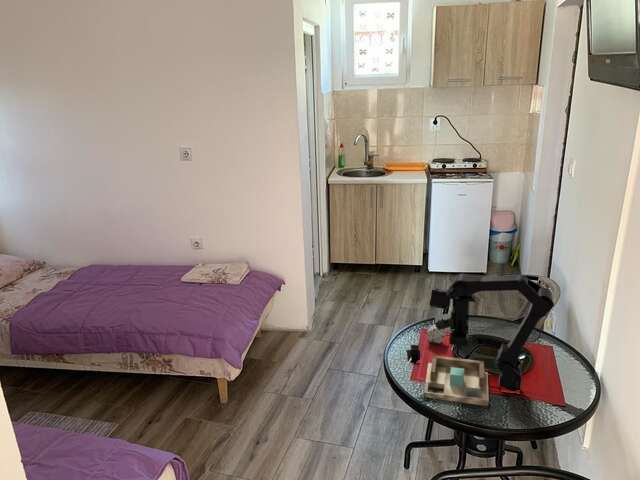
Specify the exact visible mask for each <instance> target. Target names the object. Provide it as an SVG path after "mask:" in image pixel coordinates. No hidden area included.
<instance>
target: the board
mask: <svg viewBox="0 0 640 480" xmlns="http://www.w3.org/2000/svg"><path fill="white" fill-rule="evenodd" d="M431 365H432V362H428V363H427V369H426V370H427V371H426V377H425V384H424V391H423V398H427V397H429V399H436V400H441V401H449V402H456V403H462V404H463V403H464V404H471V405H478V406H485V407H489V402H490V397H489V377H488V375H489V374H488V373H489V372H485V371H484V387H481V386H479V371H472V370H464V381H463V387H458V386H450V371H451V368H447V367H439V366H436V374H435V380H430V375H431Z"/></svg>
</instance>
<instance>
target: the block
mask: <svg viewBox="0 0 640 480" xmlns="http://www.w3.org/2000/svg"><path fill="white" fill-rule="evenodd" d="M463 381H464V369H462V368H454V367H451V371H450V386H458V387H463Z"/></svg>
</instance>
